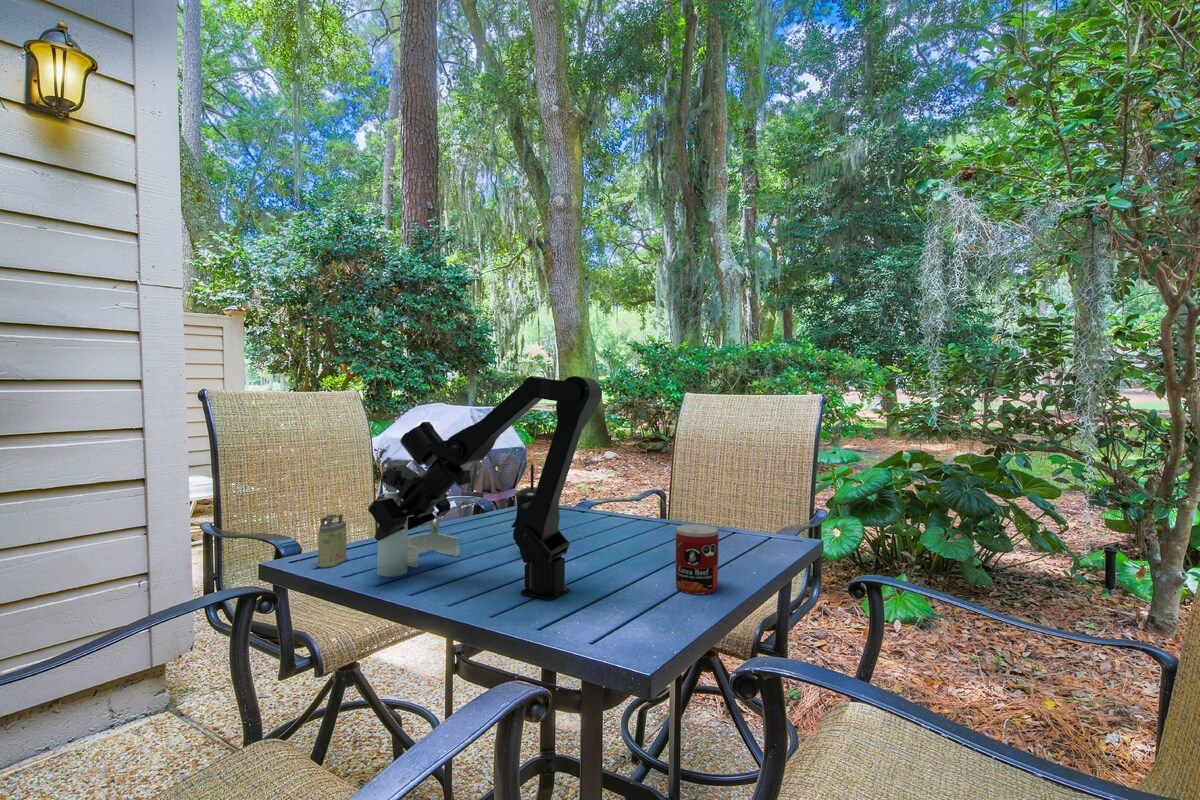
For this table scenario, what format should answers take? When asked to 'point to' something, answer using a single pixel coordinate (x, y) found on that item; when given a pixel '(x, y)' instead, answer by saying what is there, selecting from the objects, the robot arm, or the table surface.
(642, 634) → the table surface
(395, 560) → the bottle
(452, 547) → the hook bracket
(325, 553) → the lighter
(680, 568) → the canned food
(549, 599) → the robot arm
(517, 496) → the drinking cup
